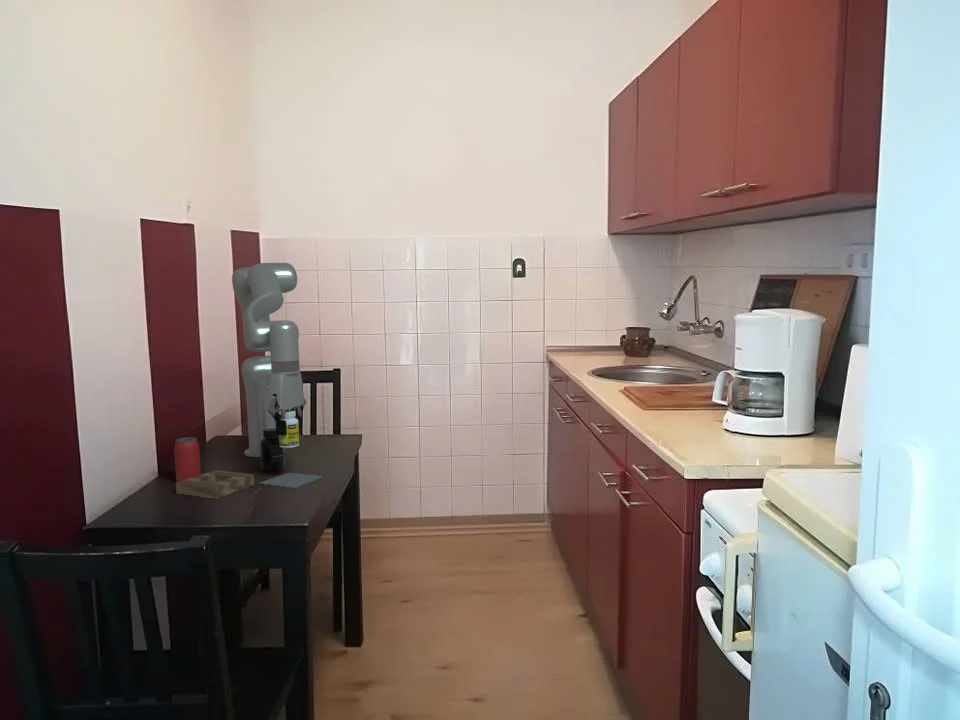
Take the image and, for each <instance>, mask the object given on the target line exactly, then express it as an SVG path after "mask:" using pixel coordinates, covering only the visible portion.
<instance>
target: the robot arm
mask: <svg viewBox="0 0 960 720" xmlns="http://www.w3.org/2000/svg"><path fill="white" fill-rule="evenodd" d="M231 283H232V284H231V285H232V289H233V292H234V296H235V298H236V300H237V301H238V305H239V307H240V311H241V321H242V331H243V341H244V347H245V348H246V349H247V351H249V352H252V353H265V352H266V353H267V352H270V355H259V356H258V355H257V356H251V357H248V358H246V359H245V360H244V361H243V362H242V365H241V373H242V379H243V384H244V389H245V400H246V414H247V428H248V429H247V432H248V448H247V449H245V450H244V456H246V457H251V458H261V455H260V442H261V440H262V439H263V438H264V437H263V430H265V429H270V428H276V434H277V435H287V427H286V421H284V419H285V413H286V411H287V410H293V411H296V416H295V418H296V419H298V421H299V432H301V431H302V419H301V418H302V415H303V411H304V408H305V406H306V404H307V400H306V399H305V395H304V386H303V385H304V384H303V378H302V374H301V368H300V350H299V348H300V347H299V338H300V337H299V336H300V332H299V327H298V325H297V323H295V322H294V321H292V320H288V319H287V320H271V319H270V315H271V314H274V313H276V312H277V311H279V310H280V309H281V308H282V306H283V305H284V301H285V300H284V295H283V294H286V293H289V292H292V291H294V290H295V289H296V287H297V285H298V275H297V271H296V269H295V267H294V266H293V265H292V264H291V263H288V262H259V263H257V264H253V265H251V266H248V267H247V266H246V267H241V268H240V267H239V268H237V269H235V270H234V271H233V273H232V275H231ZM285 450H286V448H284V453H285V452H286V451H285Z"/></svg>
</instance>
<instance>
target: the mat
mask: <svg viewBox="0 0 960 720" xmlns="http://www.w3.org/2000/svg"><path fill="white" fill-rule="evenodd" d="M322 478H323V475H316V474H314V475H313V474H308V473H307V474H306V473H298V472H297V473H296V472H285V473H283V474H279V475H278V476H275V477H274V476H273V477H272V478H269V479H267V480H264V481H260V482H259V485H260V484H264V485H263V486H267V485H271V486H270V487H275V486H279V487H278V488H283V487H286V488H285V489H292V488H294V489H295V488H296V489H298V488H301V487H303V486H305V484H306V485H308V484H311V483H313V482H315V481H318V480H320V479H322ZM300 486H301V487H300Z"/></svg>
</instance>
